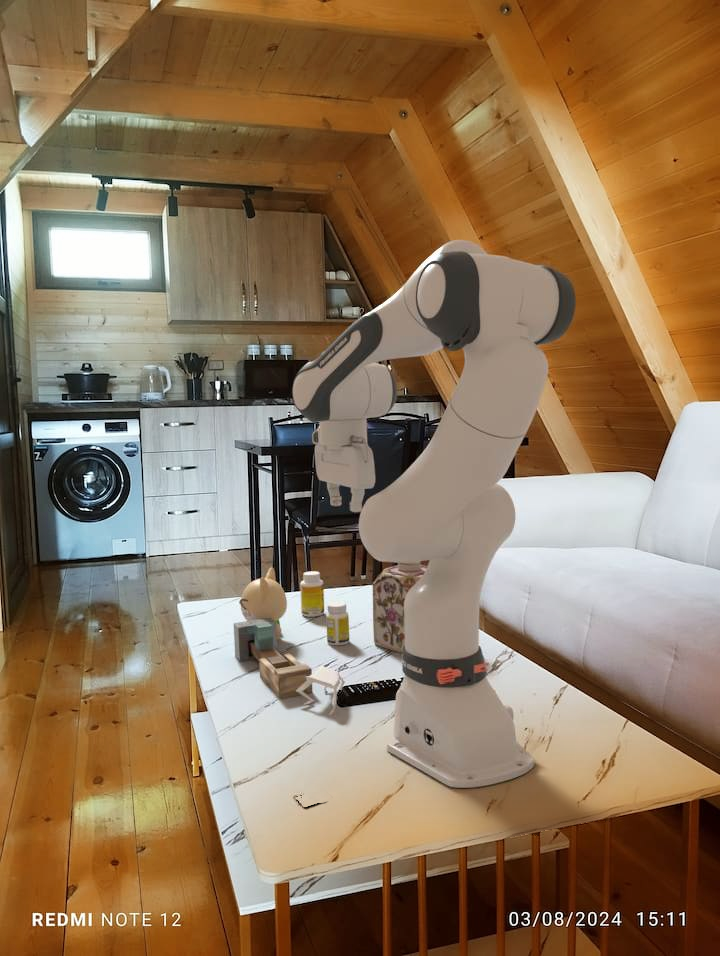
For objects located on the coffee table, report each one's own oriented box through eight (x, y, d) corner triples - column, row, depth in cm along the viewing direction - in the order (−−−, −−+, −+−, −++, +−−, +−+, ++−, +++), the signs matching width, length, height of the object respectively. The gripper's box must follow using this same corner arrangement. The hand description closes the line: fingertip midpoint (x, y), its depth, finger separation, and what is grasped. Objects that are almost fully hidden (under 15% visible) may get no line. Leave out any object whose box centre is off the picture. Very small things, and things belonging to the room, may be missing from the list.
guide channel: (312, 692, 138) (311, 668, 138) (280, 699, 136) (279, 674, 135) (290, 671, 149) (289, 649, 149) (260, 677, 147) (259, 654, 146)
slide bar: (288, 672, 145) (286, 637, 145) (272, 675, 144) (271, 639, 143) (262, 648, 160) (261, 616, 159) (248, 650, 159) (247, 618, 158)
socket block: (277, 655, 159) (276, 621, 158) (239, 661, 156) (238, 627, 155) (272, 650, 162) (271, 617, 161) (235, 656, 159) (233, 623, 158)
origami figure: (289, 699, 136) (287, 671, 136) (331, 688, 140) (330, 662, 140) (319, 723, 126) (318, 693, 125) (364, 711, 130) (363, 682, 129)
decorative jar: (372, 645, 164) (369, 561, 162) (411, 632, 171) (409, 552, 170) (412, 658, 155) (410, 569, 153) (452, 644, 163) (450, 559, 161)
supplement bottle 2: (350, 639, 168) (349, 601, 167) (348, 646, 163) (346, 607, 163) (328, 639, 169) (327, 601, 168) (325, 646, 164) (324, 607, 163)
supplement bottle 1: (326, 616, 186) (324, 574, 185) (303, 618, 185) (301, 576, 184) (322, 610, 191) (320, 569, 190) (299, 612, 190) (298, 571, 189)
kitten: (251, 629, 178) (248, 564, 176) (294, 629, 177) (291, 564, 175) (234, 650, 163) (231, 580, 161) (281, 650, 162) (278, 580, 160)
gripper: (382, 436, 137) (384, 513, 139) (338, 432, 156) (340, 501, 157) (350, 438, 135) (352, 517, 136) (308, 434, 153) (311, 503, 155)
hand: (345, 508), depth 147 cm, fingers open, 8 cm apart
